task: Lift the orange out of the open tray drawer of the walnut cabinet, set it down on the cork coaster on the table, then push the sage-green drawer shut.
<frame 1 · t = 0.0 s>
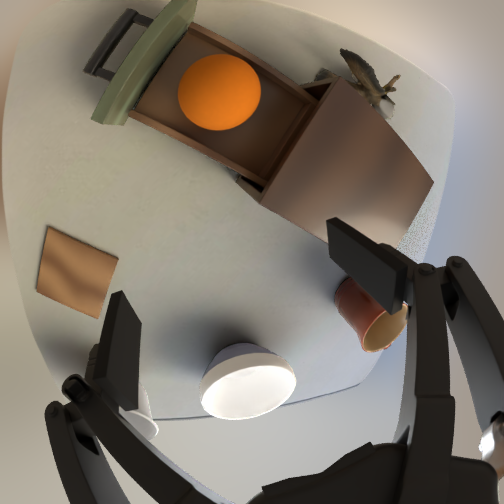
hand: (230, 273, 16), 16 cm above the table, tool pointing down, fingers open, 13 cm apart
teacup: (122, 382, 39), on the table
mug: (352, 296, 43), on the table
drawer: (203, 84, 20), point 4 cm above the table, slide at 14.0 cm, touching orange
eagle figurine: (348, 86, 28), on the table
coaster: (73, 275, 29), on the table
bowl: (238, 359, 42), on the table
orange: (213, 96, 24), point 2 cm above the table, touching drawer
cabinet: (323, 171, 32), on the table
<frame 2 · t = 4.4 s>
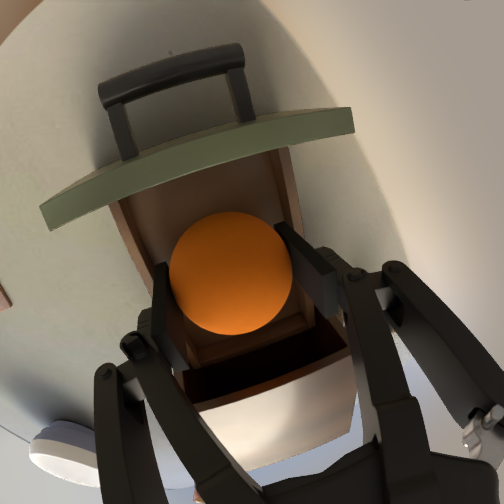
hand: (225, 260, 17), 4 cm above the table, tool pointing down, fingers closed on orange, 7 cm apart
drawer: (220, 245, 16), point 4 cm above the table, slide at 14.0 cm, touching orange
bowl: (76, 432, 27), on the table
orange: (220, 247, 19), point 2 cm above the table, touching drawer, gripper
cabinet: (260, 365, 28), on the table
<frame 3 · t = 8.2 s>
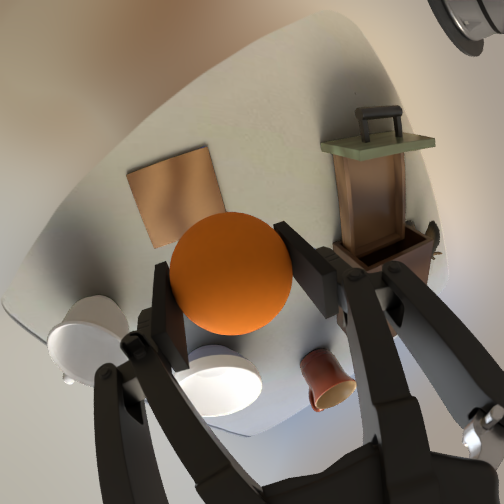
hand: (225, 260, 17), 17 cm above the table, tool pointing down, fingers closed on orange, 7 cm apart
teacup: (97, 315, 35), on the table
mug: (311, 363, 53), on the table
drawer: (383, 184, 33), point 4 cm above the table, slide at 14.0 cm
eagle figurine: (412, 238, 45), on the table
coaster: (178, 198, 31), on the table
bowl: (210, 360, 44), on the table
orange: (220, 248, 19), point 15 cm above the table, touching gripper
cabinet: (367, 273, 45), on the table
when the fingers open (2 cm above the table, at t = 12.0 s): orange stays where it is, resting on coaster.
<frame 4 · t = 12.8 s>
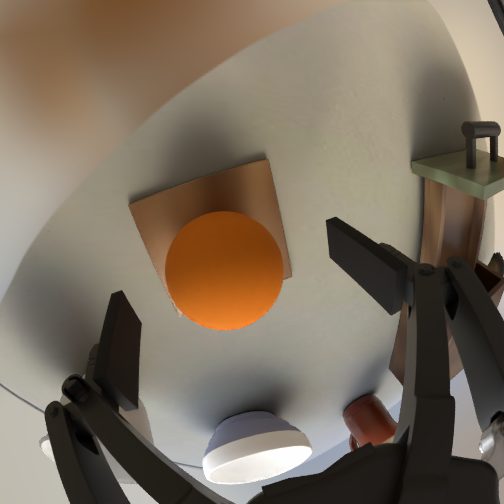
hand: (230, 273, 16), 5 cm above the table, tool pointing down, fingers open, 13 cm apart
teacup: (100, 389, 24), on the table
mug: (353, 408, 41), on the table
drawer: (474, 219, 22), point 4 cm above the table, slide at 14.0 cm
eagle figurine: (471, 269, 34), on the table
coaster: (217, 242, 20), on the table
bowl: (245, 423, 33), on the table
orange: (218, 245, 20), resting on coaster
cabinet: (428, 314, 34), on the table
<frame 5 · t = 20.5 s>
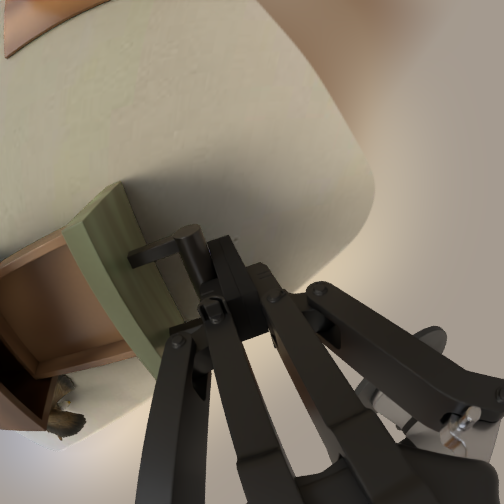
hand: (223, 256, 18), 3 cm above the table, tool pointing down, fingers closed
drawer: (74, 321, 15), point 4 cm above the table, slide at 13.8 cm, touching gripper
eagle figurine: (57, 391, 23), on the table
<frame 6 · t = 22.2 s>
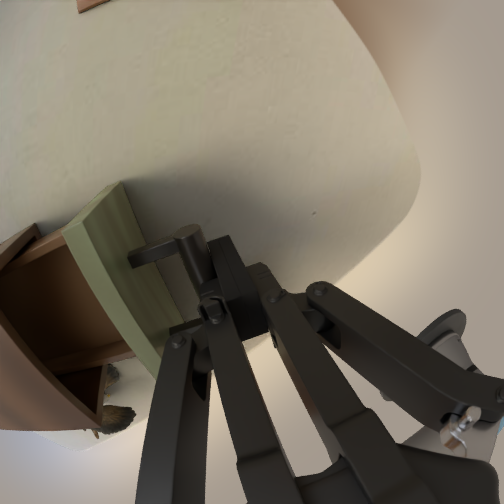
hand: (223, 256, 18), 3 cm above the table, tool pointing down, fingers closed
drawer: (74, 321, 15), point 5 cm above the table, slide at 7.0 cm, touching gripper
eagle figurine: (95, 384, 24), on the table
cabinet: (13, 317, 18), on the table
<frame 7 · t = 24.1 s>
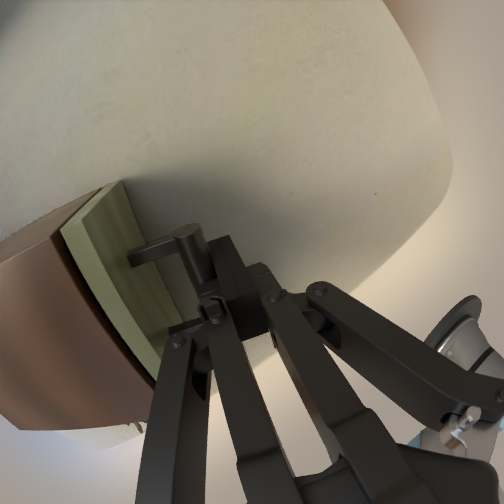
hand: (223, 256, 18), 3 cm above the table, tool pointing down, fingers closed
drawer: (73, 320, 15), point 4 cm above the table, slide at 0.4 cm, touching gripper
cabinet: (53, 299, 19), on the table
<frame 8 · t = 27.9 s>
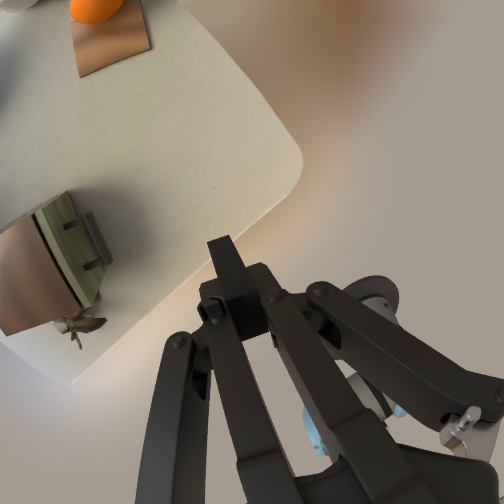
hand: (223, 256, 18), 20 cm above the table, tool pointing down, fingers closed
drawer: (42, 261, 29), point 4 cm above the table, slide at 0.4 cm
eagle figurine: (84, 307, 38), on the table
coaster: (108, 34, 22), on the table
orange: (101, 20, 19), point 3 cm above the table, tilted 73°, touching coaster
cabinet: (36, 256, 32), on the table
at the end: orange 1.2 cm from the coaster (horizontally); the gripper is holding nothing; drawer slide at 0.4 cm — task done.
